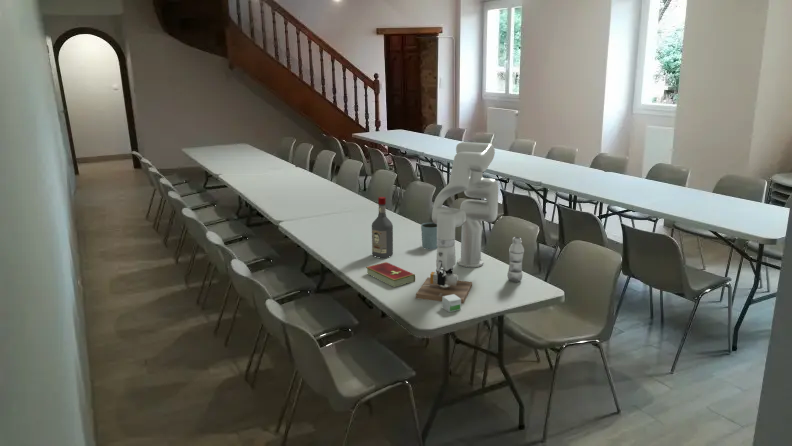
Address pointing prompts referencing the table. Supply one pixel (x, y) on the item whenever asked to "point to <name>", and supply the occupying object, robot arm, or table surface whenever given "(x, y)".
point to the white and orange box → (449, 280)
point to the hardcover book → (390, 274)
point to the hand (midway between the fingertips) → (444, 281)
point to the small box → (451, 303)
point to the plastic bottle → (515, 260)
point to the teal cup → (429, 235)
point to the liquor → (382, 233)
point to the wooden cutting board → (443, 291)
